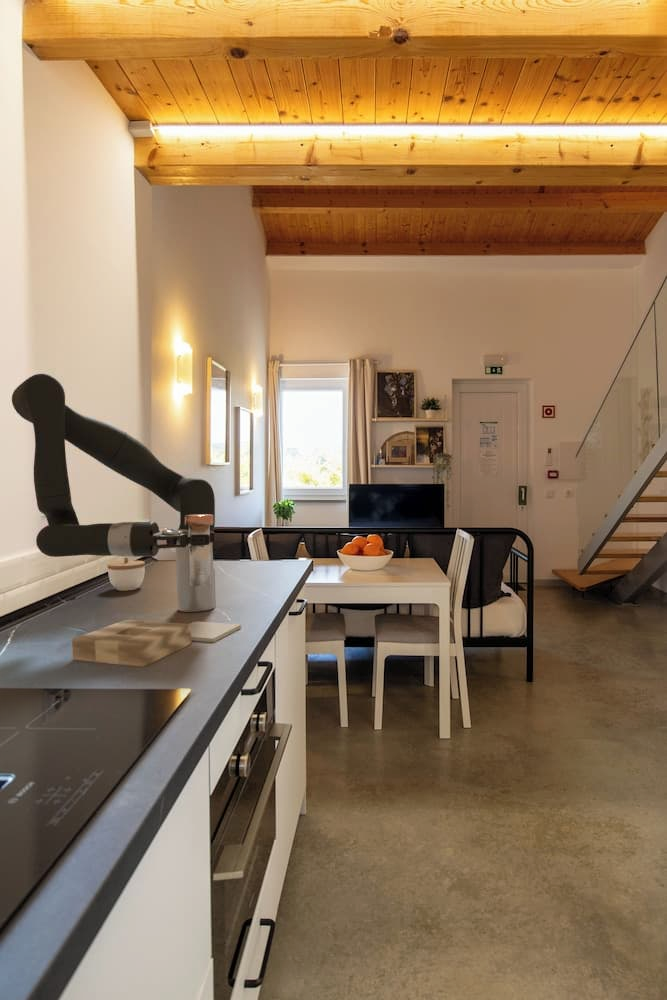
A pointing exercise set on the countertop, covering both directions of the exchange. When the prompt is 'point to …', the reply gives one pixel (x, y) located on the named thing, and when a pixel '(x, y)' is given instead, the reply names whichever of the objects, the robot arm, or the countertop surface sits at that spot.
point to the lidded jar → (126, 574)
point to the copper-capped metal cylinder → (199, 550)
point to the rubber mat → (211, 631)
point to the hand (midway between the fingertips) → (211, 538)
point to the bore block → (131, 642)
